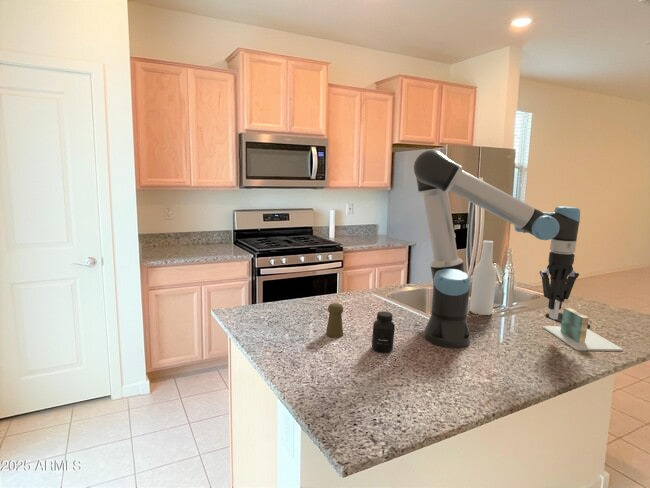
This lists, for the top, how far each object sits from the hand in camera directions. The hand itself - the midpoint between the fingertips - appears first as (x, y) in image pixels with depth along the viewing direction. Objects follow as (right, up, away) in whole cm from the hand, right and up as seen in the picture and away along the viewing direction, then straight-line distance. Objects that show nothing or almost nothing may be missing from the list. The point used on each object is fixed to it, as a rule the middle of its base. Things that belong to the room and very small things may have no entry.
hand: (553, 317), depth 145 cm
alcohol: (-16, -3, +26) cm, 31 cm away
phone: (+16, -5, +19) cm, 25 cm away
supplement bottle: (-62, -8, -13) cm, 64 cm away
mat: (+11, -8, +2) cm, 13 cm away
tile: (+8, -7, +2) cm, 10 cm away
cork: (-77, -6, -2) cm, 77 cm away
